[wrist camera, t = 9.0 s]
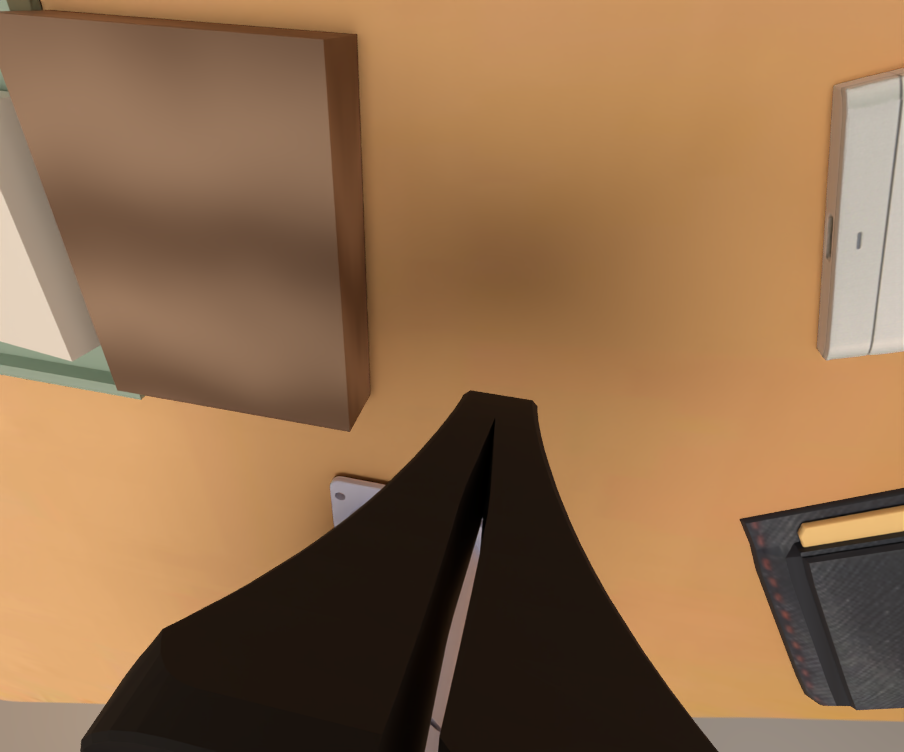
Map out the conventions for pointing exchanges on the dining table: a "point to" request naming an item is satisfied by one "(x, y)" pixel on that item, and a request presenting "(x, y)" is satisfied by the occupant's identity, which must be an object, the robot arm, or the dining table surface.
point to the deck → (205, 203)
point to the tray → (43, 367)
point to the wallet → (838, 595)
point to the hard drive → (864, 221)
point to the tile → (35, 258)
